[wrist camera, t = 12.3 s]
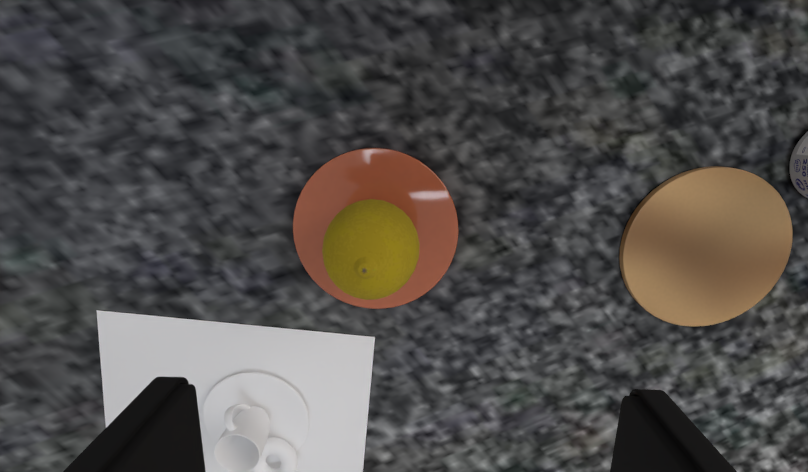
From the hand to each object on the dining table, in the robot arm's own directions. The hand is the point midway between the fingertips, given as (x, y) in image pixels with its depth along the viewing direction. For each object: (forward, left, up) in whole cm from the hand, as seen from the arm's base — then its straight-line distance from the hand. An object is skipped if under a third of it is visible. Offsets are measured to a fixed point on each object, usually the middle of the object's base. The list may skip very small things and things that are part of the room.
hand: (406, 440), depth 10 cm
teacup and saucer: (+18, -13, -21) cm, 31 cm away
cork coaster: (+2, +20, -21) cm, 29 cm away
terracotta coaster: (+1, -2, -21) cm, 21 cm away
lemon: (+1, -2, -21) cm, 21 cm away
